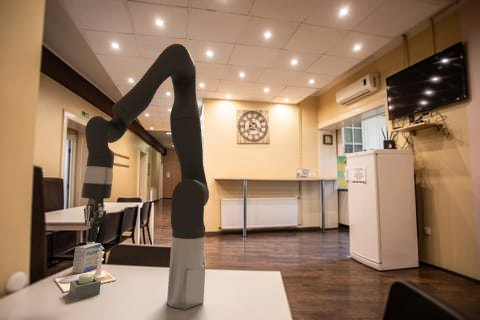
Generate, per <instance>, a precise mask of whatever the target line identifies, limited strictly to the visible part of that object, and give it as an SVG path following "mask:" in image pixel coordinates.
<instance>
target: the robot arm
mask: <svg viewBox="0 0 480 320" xmlns="http://www.w3.org/2000/svg"><path fill="white" fill-rule="evenodd" d="M168 78H170V79H171V83H172V88H173V89H172V90H173V103H172V107H171V111H170V115H169V126H170V135H171V141H172V145H173V148H174V151H175V154H176V157H177V159H178V162H179V163H178V164H179V168H180V177H181V178H180V180H181V181H179V182H178V183H177V184H176V185H175V186H174V189H173V191H172V195H171V207H170V227H171V230H172V232H171V244H170V245H171V246H170V257H169V258H170V259H169V269H168V270H169V271H168V285H167V298H166V300H167V301H166V303H167V304H168V306H170V307H171V308H175V309H181V310H184V311H186V310H188V309H191V308H193V307H196V306H198V305H201V304H203V303H204V300H205V299H204V298H205V283H206V282H205V281H206V265H204V260H205V259H204V257H205V243H206V242H205V241H206V225H205V221H204V219H205V216H204V215H205V206H206V205H207V204H208V201H209V199H210V191H209V190H210V189H209V185H208V182H207V178H206V172H205V167H204V154H203V153H204V151H203V136H202V125H201V116H200V111H199V110H200V109H199V105H198V100H197V88H196V87H197V86H196V85H197V82H196V81H197V69H196V64H195V62H194V59H193V57H192V56H191V53H190V52H189V50H188V48H187V47H186V46H185V45H183V44H180V43H173V44H172V43H171V45H168V46H167V47H165V48H164V50H162V52H161V53H160V54H159V55H158V56H157V58H156V59H155V60H154V62H153V63H152V64H151V65H150V67H149V68H148V69H147V70H146V72H145V73H144V74H143V75H142V76H141V78H140V79H139V81H137V83H136V84H135V85H134V86H132V88H131V89H130V90H129V91H128V92H127V93H126V94H124V96H122V97H121V98H120V99H119V100H118V101H117V102H116V103H114V104H113V106H112V109H111V110H112V111H111V112H113V114H114V115H113V117H112V118H111V119H108V118H107V117H105V116H102V115H94V116H93V117H91V118H90V119H89V120H88V121H87V123H86V125H85V130H84V131H85V133H84V134H85V142H86V148H87V152H88V154H87V161H86V168H85V170H84V175H83V181H82V189H81V198H83V199H88V201H87V204H86V205H85V207H84V209H83V214H84V215H83V217H84V225H85V227H86V236H85V241H86V242H87V243H96V240H97V234H98V229H99V228H101V227H102V224H103V222H104V219H105V218H106V214H107V210H105V203H104V200H105V199H106V200H107V199H110V198H111V196H112V188H113V180H114V178H113V177H114V161H115V153H114V151H113V150H112V149H111V148H110V147H109V144H113V143H116V142H118V141H119V140H120V139H122V138H123V136H124V135H125V134H126V132H127V131H128V129H129V128H130V126H131V125H132V123H133V121H135V120H136V119H137V118H138V117H139V116H140V115H142V114H143V112H145V111H146V110H147V108H148V107H149V106H150V105H151V103H152V101H153V99H154V96H155V95H156V93H157V91H158V89H159V88H160V87H161V86H162V84H163V83H164V82H165V81H167V79H168Z"/></svg>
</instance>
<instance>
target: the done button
mask: <svg viewBox="0 0 480 320" xmlns="http://www.w3.org/2000/svg"><path fill="white" fill-rule="evenodd" d="M93 278H94V274H83V275H80V276H79V280H78V285H84V284H88V283H93Z"/></svg>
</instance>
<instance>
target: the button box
mask: <svg viewBox="0 0 480 320" xmlns="http://www.w3.org/2000/svg"><path fill="white" fill-rule="evenodd" d="M78 280H79V279H78ZM78 280H73V281H71V282H70V290H69V292H68V294H70V296H71V297H72V299H73V300H74V301H76V300H81V299H84V298H87V297H88V298H89V297H92V296H95V295H99V294H100V293H101V285H102V284H101V281H100V280H98V279H97V278H96V277H95V276H94V278H93V283H88V284H84V285H78Z"/></svg>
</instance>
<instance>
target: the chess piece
mask: <svg viewBox="0 0 480 320" xmlns="http://www.w3.org/2000/svg"><path fill="white" fill-rule="evenodd" d="M98 250H100V252H98V253H97V254H98V259H97V260H96V261H98V265H97V268H95V271H96V272H95V274H94V276H95V277H96V278H97V279H98V280H102V279H104V278H106V277H107V276H106V275H107V274H106V273H102V270H103V269H102V267H103V266H102V262H103V261H104V260H105V259H104V258H103V257H104V255H105V251H103V250H105V247H103V245H102V246H101V248H99V249H98Z"/></svg>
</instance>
